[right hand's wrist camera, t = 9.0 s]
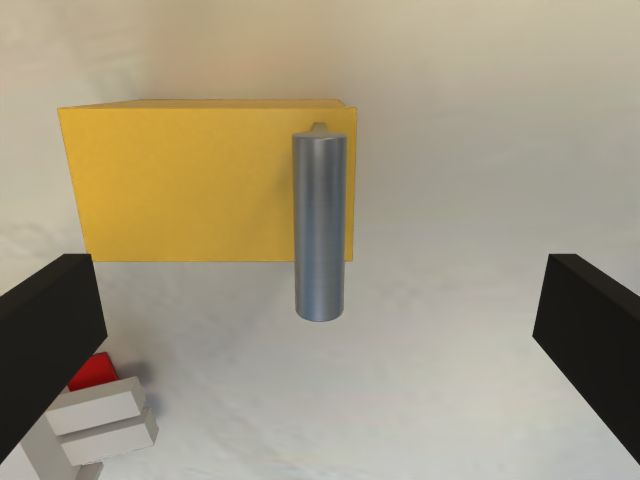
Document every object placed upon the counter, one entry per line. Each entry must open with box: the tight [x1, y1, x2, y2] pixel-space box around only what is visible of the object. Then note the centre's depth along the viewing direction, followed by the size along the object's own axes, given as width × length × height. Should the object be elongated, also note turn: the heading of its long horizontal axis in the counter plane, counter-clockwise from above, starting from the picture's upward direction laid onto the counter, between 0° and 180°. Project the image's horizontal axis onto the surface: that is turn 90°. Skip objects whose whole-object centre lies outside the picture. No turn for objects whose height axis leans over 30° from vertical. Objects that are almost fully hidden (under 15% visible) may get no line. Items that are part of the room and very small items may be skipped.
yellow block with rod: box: [57, 107, 357, 322], centre depth 21 cm, size 16×9×9 cm, turn 90°
